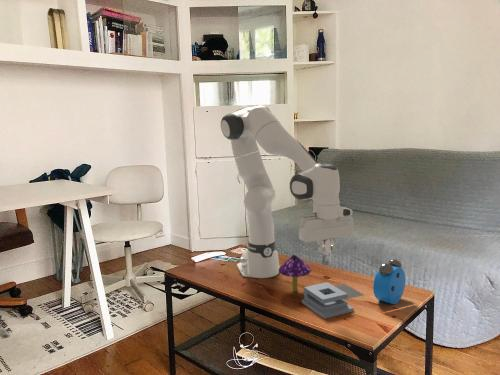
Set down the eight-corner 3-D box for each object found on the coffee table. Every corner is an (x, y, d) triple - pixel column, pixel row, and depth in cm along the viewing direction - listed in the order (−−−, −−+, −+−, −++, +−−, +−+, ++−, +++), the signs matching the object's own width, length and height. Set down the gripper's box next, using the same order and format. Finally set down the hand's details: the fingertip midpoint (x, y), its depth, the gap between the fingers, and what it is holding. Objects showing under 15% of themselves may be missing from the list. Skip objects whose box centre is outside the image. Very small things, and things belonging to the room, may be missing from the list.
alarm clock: (389, 293, 151) (390, 255, 149) (405, 298, 146) (407, 258, 144) (372, 305, 142) (373, 264, 140) (389, 310, 137) (389, 268, 135)
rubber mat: (319, 290, 156) (319, 289, 156) (344, 284, 161) (344, 283, 161) (337, 302, 145) (337, 301, 145) (364, 295, 150) (364, 294, 150)
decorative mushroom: (288, 301, 147) (287, 261, 145) (273, 289, 159) (272, 252, 156) (317, 295, 151) (317, 256, 149) (301, 283, 163) (300, 248, 161)
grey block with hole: (301, 303, 145) (301, 287, 144) (329, 297, 149) (329, 281, 149) (323, 319, 132) (323, 302, 131) (353, 312, 137) (353, 295, 136)
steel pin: (325, 265, 137) (325, 237, 135) (320, 263, 139) (320, 235, 138) (332, 264, 138) (332, 236, 136) (327, 261, 140) (327, 234, 139)
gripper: (304, 216, 129) (305, 258, 131) (356, 209, 137) (356, 249, 139) (295, 213, 135) (295, 253, 137) (345, 206, 143) (345, 244, 145)
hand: (326, 251), depth 138 cm, fingers closed on steel pin, 3 cm apart
